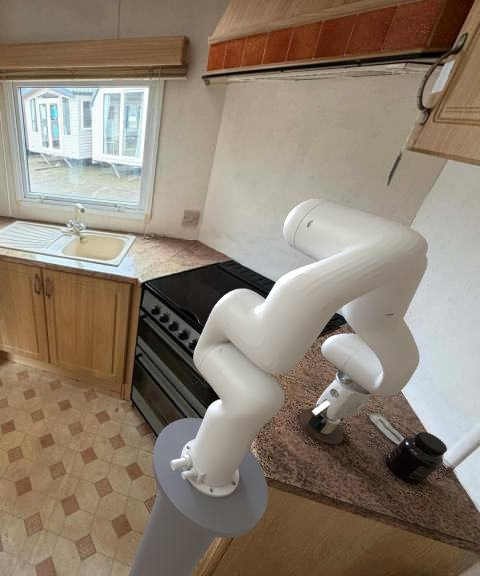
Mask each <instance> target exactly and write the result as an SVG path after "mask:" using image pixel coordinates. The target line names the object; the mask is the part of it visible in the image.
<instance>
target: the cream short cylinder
mask: <svg viewBox="0 0 480 576" xmlns="http://www.w3.org/2000/svg"><path fill="white" fill-rule="evenodd" d="M315 408H317V406H316V407H315ZM321 415H322V416H323V417H325V416H326V414H325V413H324V412H323V413H321ZM340 421H341V419H338V420H330V419H328V420H327V421H326V423H327V424H326V425H325V427H324V428H323V429H322V430H321V432H322V433H324V434H330V433H332V432H333V431H334V430H335V428H336V427H337V426H338V425H339V426H340V424H341V422H342V421H341V422H340ZM339 423H340V424H339Z"/></svg>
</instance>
